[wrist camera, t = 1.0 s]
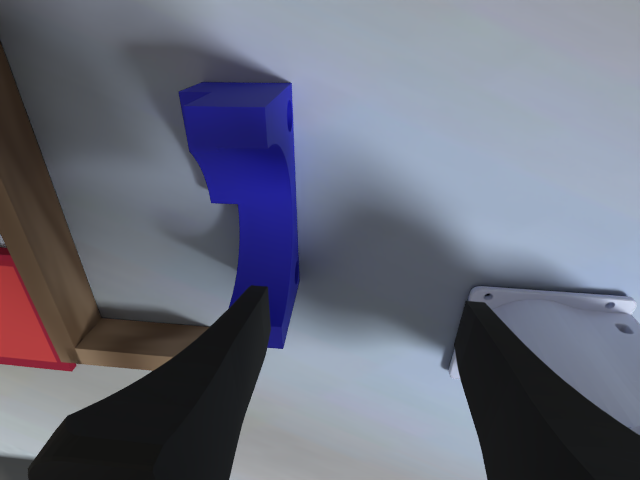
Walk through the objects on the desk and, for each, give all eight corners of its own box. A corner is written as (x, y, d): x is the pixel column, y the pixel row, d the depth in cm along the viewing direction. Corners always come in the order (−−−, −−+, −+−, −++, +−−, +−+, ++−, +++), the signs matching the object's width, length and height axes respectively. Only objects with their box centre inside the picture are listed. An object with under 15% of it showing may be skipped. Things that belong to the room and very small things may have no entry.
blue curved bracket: (203, 81, 19) (144, 105, 14) (291, 82, 19) (264, 107, 13) (232, 276, 25) (198, 342, 20) (299, 279, 25) (283, 348, 20)
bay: (139, -71, 16) (97, -88, 13) (212, 342, 28) (197, 374, 26) (-73, -71, 17) (-152, -88, 14) (88, 331, 29) (61, 362, 26)
